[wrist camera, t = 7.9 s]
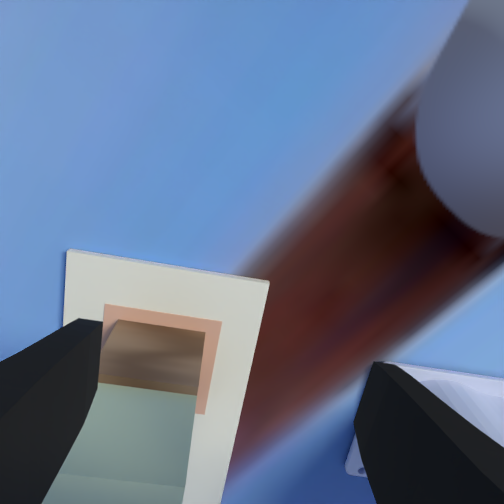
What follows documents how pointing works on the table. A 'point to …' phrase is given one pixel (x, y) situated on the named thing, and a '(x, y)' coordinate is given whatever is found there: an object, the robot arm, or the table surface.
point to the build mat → (184, 317)
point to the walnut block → (152, 357)
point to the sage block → (128, 449)
